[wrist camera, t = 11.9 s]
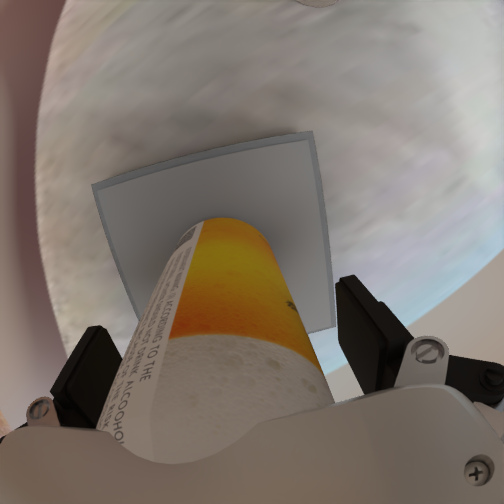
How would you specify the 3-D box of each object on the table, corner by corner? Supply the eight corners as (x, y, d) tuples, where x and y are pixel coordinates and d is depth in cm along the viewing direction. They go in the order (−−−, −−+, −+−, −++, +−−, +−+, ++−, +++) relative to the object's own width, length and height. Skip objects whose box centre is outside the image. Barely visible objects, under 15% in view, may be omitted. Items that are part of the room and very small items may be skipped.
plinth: (111, 178, 19) (88, 185, 16) (298, 133, 19) (314, 130, 16) (165, 335, 24) (157, 365, 20) (322, 303, 24) (337, 329, 21)
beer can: (233, 321, 19) (248, 551, 5) (156, 271, 18) (59, 501, 4) (292, 253, 18) (416, 482, 4) (212, 193, 16) (141, 421, 2)
